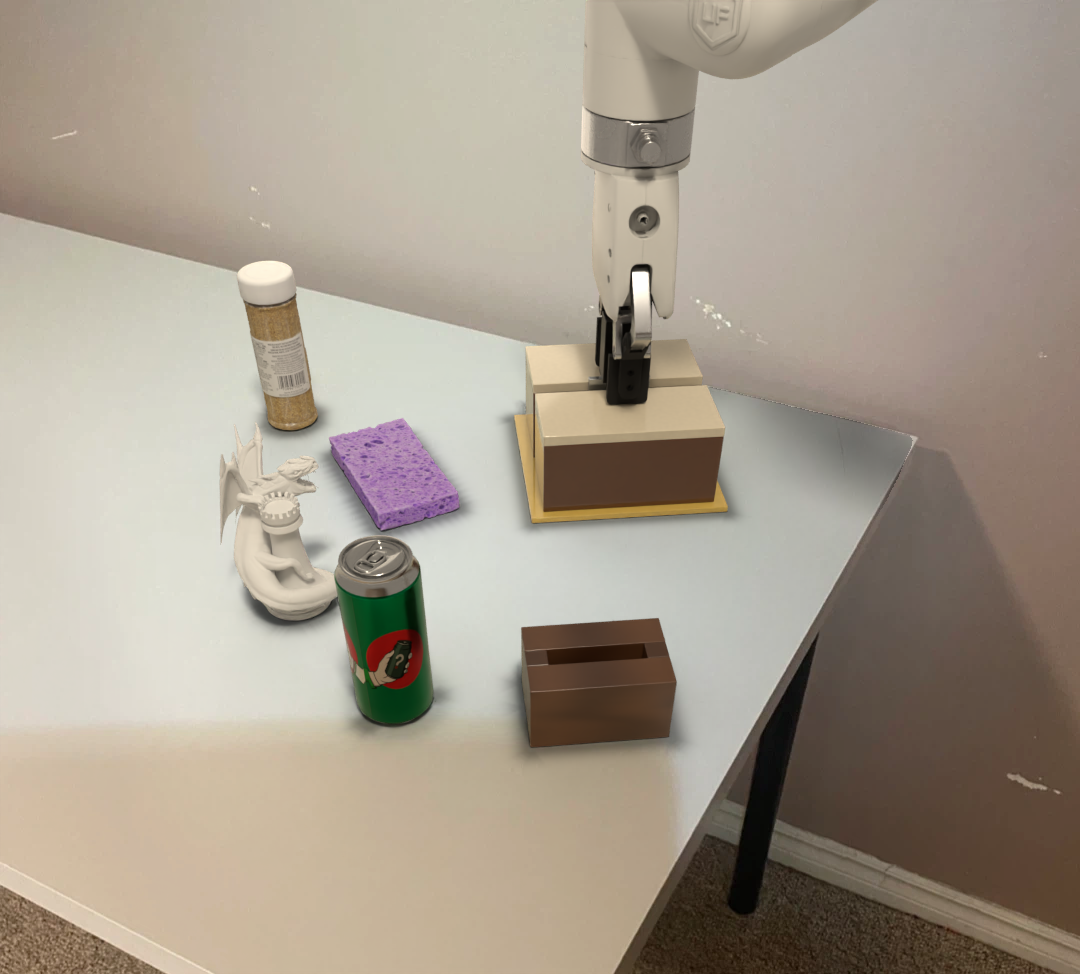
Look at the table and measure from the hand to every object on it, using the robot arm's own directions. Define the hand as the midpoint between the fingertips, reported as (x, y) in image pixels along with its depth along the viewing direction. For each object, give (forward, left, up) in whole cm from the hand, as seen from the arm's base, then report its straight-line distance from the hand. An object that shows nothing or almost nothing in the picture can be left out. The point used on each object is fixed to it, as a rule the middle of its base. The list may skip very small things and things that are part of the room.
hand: (620, 380), depth 82 cm
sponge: (+19, +1, -8) cm, 21 cm away
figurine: (+27, +14, -8) cm, 31 cm away
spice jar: (+28, -10, -8) cm, 31 cm away
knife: (0, 0, -7) cm, 7 cm away
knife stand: (+6, +29, -8) cm, 31 cm away
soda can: (+19, +27, -8) cm, 34 cm away
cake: (0, 0, -8) cm, 8 cm away
